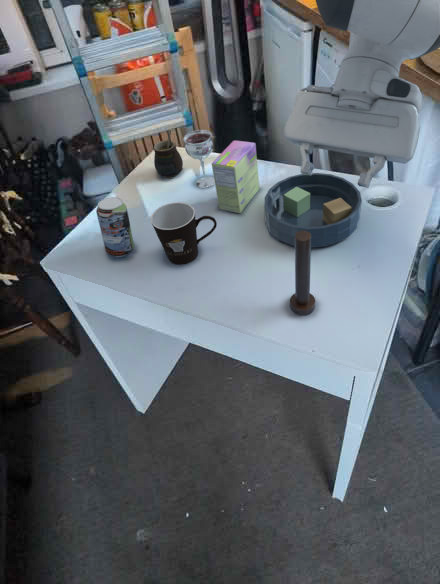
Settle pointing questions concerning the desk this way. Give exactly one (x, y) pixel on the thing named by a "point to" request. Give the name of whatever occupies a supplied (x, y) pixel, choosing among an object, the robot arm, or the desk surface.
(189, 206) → the coffee mug
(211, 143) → the wineglass
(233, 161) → the box
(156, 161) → the mate gourd
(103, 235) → the beverage can
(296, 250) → the tall rod on disc
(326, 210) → the beech block
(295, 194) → the sage block
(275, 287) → the desk surface
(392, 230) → the desk surface
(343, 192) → the bowl
